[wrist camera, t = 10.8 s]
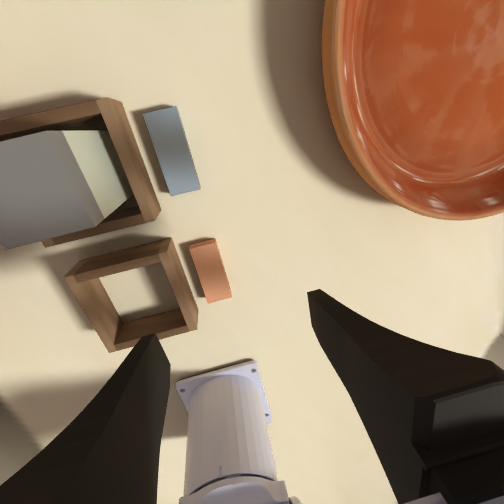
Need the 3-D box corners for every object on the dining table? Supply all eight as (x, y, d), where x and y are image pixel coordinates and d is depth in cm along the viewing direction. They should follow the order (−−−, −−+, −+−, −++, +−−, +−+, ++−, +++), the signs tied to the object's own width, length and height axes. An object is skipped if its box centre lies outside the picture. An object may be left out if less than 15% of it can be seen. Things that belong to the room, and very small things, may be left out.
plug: (134, 193, 18) (95, 226, 12) (75, 208, 18) (5, 249, 12) (108, 130, 17) (46, 130, 10) (43, 145, 16) (-60, 155, 10)
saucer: (606, -446, 11) (777, -691, 8) (664, 47, 20) (756, 31, 17) (231, 28, 16) (238, 1, 12) (415, 258, 24) (447, 278, 21)
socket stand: (233, 300, 23) (236, 318, 21) (119, 330, 23) (109, 352, 20) (172, 90, 16) (166, 84, 14) (5, 127, 16) (-28, 127, 13)
